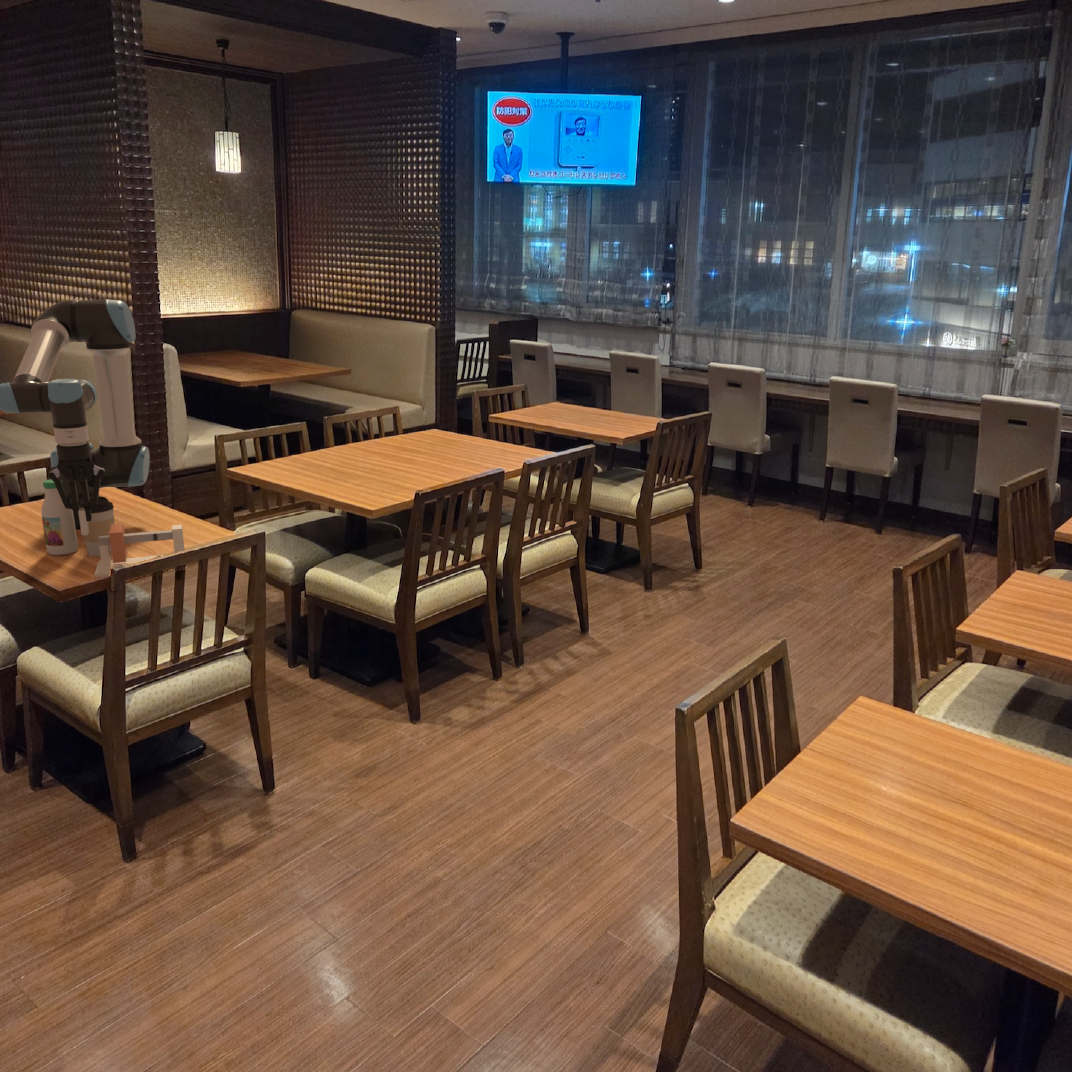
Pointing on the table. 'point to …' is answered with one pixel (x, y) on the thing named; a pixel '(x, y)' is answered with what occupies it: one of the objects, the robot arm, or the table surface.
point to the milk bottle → (57, 523)
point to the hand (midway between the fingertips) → (85, 533)
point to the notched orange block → (118, 543)
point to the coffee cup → (98, 525)
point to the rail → (108, 562)
